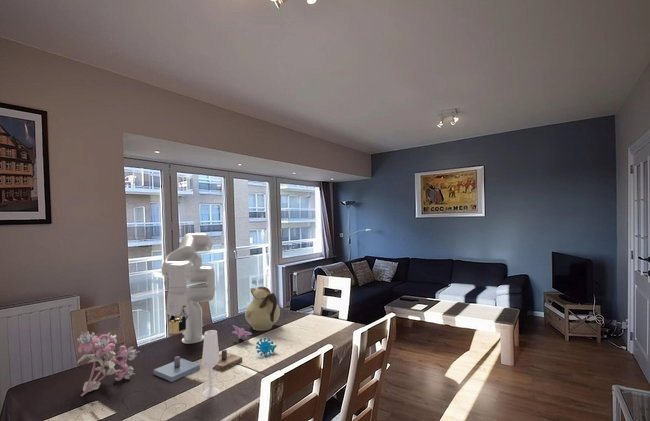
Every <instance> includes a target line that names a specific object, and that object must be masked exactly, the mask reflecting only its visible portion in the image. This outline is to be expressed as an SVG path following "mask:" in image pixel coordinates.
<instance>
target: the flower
mask: <svg viewBox="0 0 650 421" xmlns="http://www.w3.org/2000/svg"><path fill="white" fill-rule="evenodd" d="M77 342H78V343H79V345H78V348H77V351H78V353H80V354H82V353H83V352H85V353H86V354H83V355H82V356H81V357H80V358H79V359H78V360H77V364H79V363H80V362H82V361H84V360H85V359H87V358H88V359H90V360H88V362H87V364H90V363H93V366H92V369H91V372H90V376H89V379H88V381H85V382H84V384H83V387H82V393H81V394H80V396H81V397H83V396H84V395H86V394H87V393H89V392H92V391H96V390H98V389H99V388H100V386H101V384H102V383H101V382H100V381H102V380H103V379H104V378H105V377H107V376H111V375H114V374H115V375H116V376H117V377H114V380H115V381H121V380H122V379H123V378H124V379H125V380H130V378H131V376H133V375H136V373H134V371H135V368H133V366H130V365H128V364H127V361H133V360H135V358H136V357H138V355H137V353H140V352H141V350H139V351H138V350H137V349H136V348H134V347H135V345H134V346H133V345H132V346H129V347H128V348H127V346H125V345H120V346H119V347H118V349H119V350H118V351H117V352H115V351H114V350H115V349H116V344H117V342H118V339H117V334H114V335H112V334H111V332H108V333H106V334H101V335H99V336H97V335H95V332H93V331H92V332H91V334H90V332H89V330H87V332H84V333H83V331H81V334H79V337H78V338H77ZM95 349H96V351H95ZM90 352H92V353H91V354H90ZM88 353H89V354H88ZM101 357H103V358H104V360H103V359H102V358H101ZM117 358H122V359H121V360H119V359H117ZM97 362H98V363H99V364H100V366H97V367H96V365H97ZM116 365H118V366H120V368H119V369H115V366H116ZM105 367H107V368H108V369H106V368H105ZM121 368H122V369H121ZM96 371H99V372H98V373H97V374H96V376H94V373H95V372H96ZM101 373H102V374H103V376H101V377H100V378H99V376H100V375H101ZM93 376H94V378H93ZM98 378H99V379H98ZM97 379H98V380H97Z"/></svg>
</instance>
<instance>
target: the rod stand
mask: <svg viewBox="0 0 650 421" xmlns="http://www.w3.org/2000/svg"><path fill="white" fill-rule="evenodd" d="M219 357H220V359H219V361H218V363H217V364H216V365H215V366H214V367H213V368H212V369H216V370H219V371H222V372H224V371H226V370H228V369H230V368H232V367H234V366H235V365H238V364H240V363H242V362H243V356H240V355H236V354H233V353H229V352H228V350H227V349H221V354H219Z"/></svg>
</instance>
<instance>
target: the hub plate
mask: <svg viewBox="0 0 650 421" xmlns="http://www.w3.org/2000/svg"><path fill="white" fill-rule="evenodd" d="M173 360H174V361H172V362H170V363H167V364H164V365H162V366H159V367H157V368H154V369H153V375H155V376H156V377H157V376H158V377H160V378H162V379H164V380H167V381H168V382H171V383H172V382H175V381H177V380H179V379H182V378H183V377H185V376H188V375H191V374H192V373H195V372H196V371H199V370H200V369H201V364H199V363H196V362H193V361H190V360H188V359H184V358H181V356H180V355H179V356H178V355H177V356H175V357H174V358H173Z"/></svg>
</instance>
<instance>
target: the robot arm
mask: <svg viewBox="0 0 650 421" xmlns="http://www.w3.org/2000/svg"><path fill="white" fill-rule="evenodd" d="M212 248H213V240H212V238H211V236H210V234H208V233H205V232H195V233H193V232H192V233H191V232H190V233H186V234H184V235H182V238H181V241H180V243H179V247H178V248H176V249H175V250H173V251H171V252H170V253H168V254H167V255H166V256H165V258H164V260H163V263H162V266H161V274H162V276H164V277H165V278H168V292H167V297H166V308H165V309H166V314H167V316H168V322H169V321H170V320H173V319H176V317H177V318H179V320H180V322H179V331H182V330H185V329H186V330H185V331H184V332H182V335H183V337H182V338H181V343H183V344H186V345H187V344H188V345H190V344H192V345H193V344H198V343H200V342H204V334H203V308H202V306H201V305H200V302H201V303H203V302H211V301H213V300H214V299H215V295H216V294H215V292H216V288H215V287H216V286H215V284H216V283H215V282H216V274H215V273H216V272H215V268H214V267H212V266H209V265H208V266H203V258H202V256H201V254H199V252H209V251H211V250H212ZM187 283H189V284H196V285H188V286H187ZM197 284H198V285H197ZM200 284H202V285H200Z"/></svg>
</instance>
